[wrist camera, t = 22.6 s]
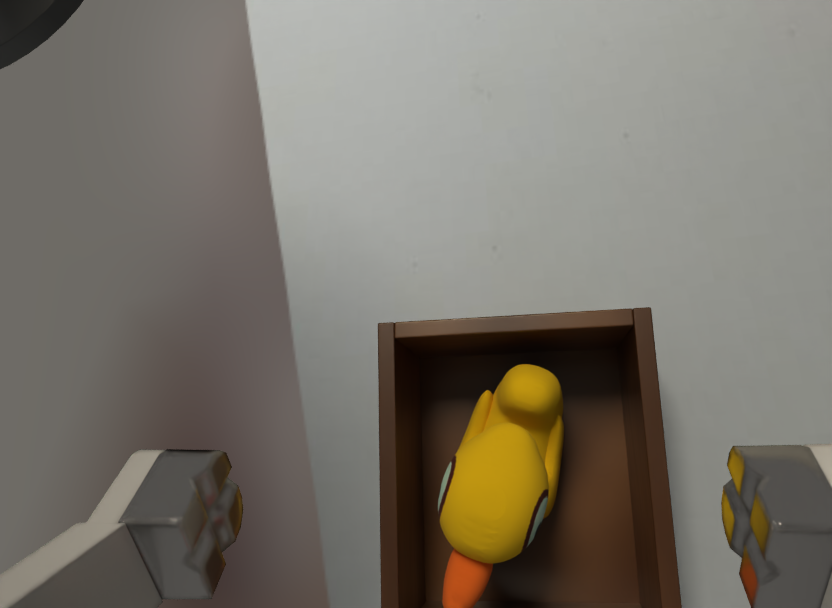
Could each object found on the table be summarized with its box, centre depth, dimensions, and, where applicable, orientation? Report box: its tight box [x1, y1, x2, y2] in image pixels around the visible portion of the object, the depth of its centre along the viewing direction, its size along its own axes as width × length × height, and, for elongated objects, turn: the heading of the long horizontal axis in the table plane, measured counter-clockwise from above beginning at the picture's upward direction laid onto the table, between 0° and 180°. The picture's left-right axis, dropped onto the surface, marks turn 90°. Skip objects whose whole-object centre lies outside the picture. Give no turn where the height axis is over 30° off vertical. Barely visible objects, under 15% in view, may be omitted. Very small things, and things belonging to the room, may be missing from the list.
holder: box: [378, 307, 682, 608], centre depth 33 cm, size 13×15×8 cm
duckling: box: [438, 364, 564, 608], centre depth 32 cm, size 11×5×10 cm, turn 160°
